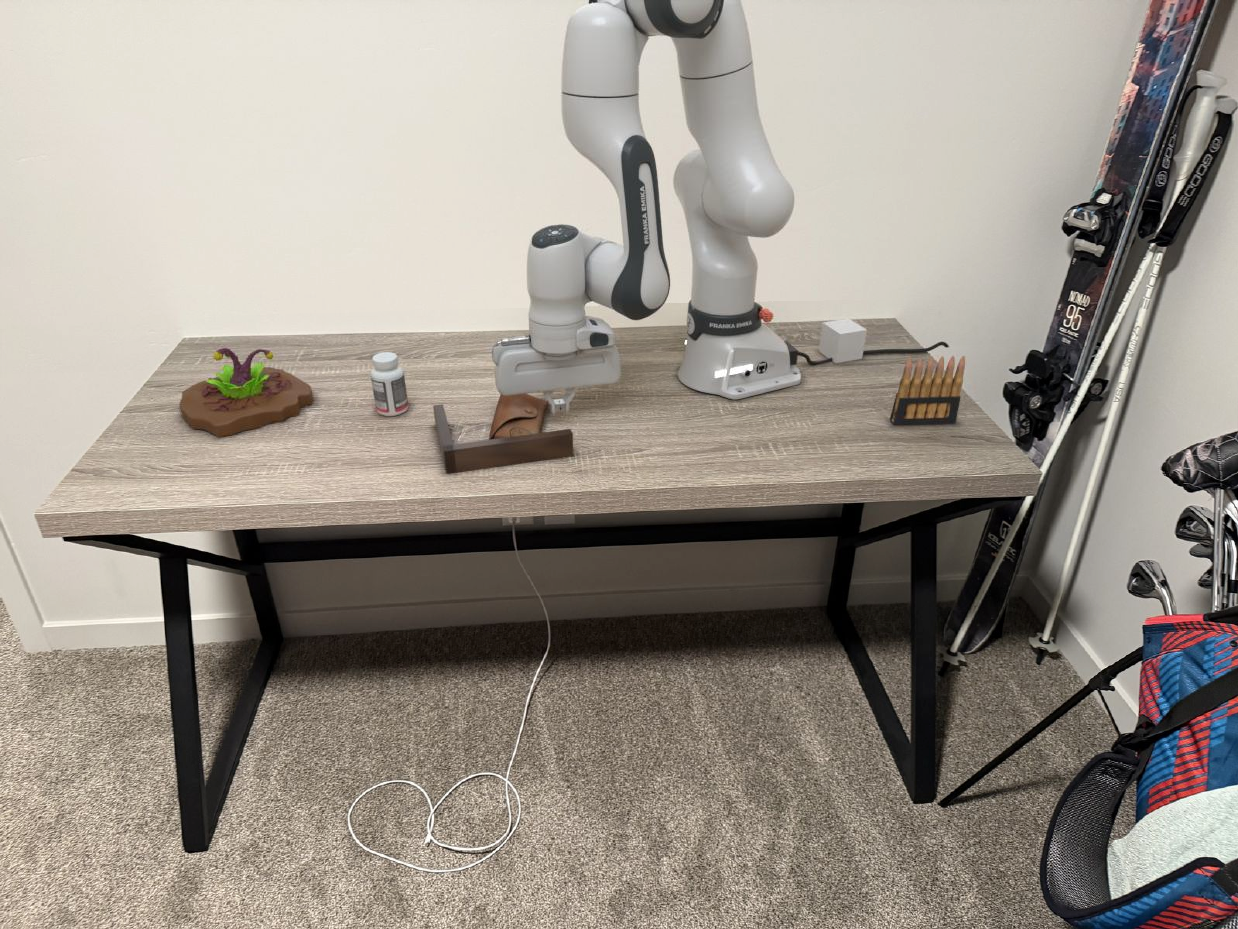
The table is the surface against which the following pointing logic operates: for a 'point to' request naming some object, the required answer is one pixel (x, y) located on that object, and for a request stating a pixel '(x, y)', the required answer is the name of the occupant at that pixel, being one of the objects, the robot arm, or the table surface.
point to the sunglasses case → (518, 416)
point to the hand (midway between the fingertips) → (559, 411)
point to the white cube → (842, 340)
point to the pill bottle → (388, 385)
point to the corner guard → (499, 448)
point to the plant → (243, 397)
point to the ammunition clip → (928, 394)
